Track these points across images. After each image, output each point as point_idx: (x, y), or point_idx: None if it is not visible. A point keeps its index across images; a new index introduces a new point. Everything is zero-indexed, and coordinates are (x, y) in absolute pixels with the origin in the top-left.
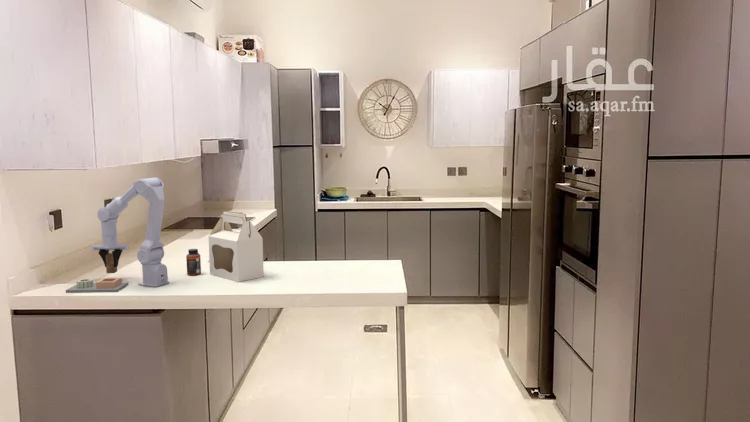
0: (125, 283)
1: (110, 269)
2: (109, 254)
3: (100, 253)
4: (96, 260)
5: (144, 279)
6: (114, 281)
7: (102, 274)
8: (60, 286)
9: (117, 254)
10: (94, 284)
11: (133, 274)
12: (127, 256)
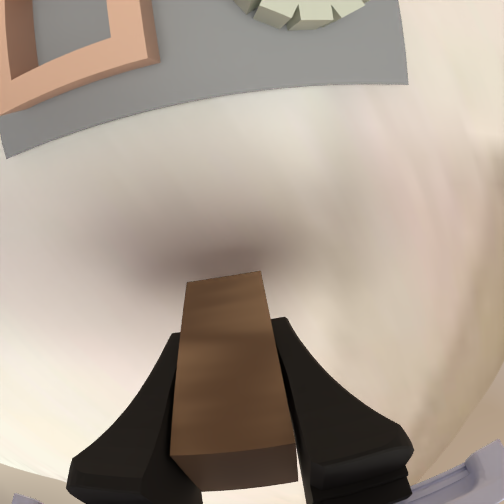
0: (6, 127)
1: (221, 300)
2: (234, 457)
3: (369, 436)
4: (431, 454)
5: None
6: None
7: (367, 364)
8: (490, 78)
9: (88, 447)
10: (245, 35)
11: None
12: None
